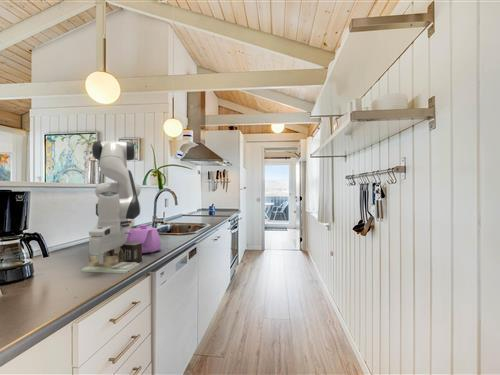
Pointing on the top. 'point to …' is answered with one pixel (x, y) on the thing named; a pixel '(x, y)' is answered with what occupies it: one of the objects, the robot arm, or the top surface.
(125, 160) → the robot arm
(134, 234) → the teapot
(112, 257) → the turner
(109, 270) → the board
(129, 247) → the coffee box
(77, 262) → the top surface
